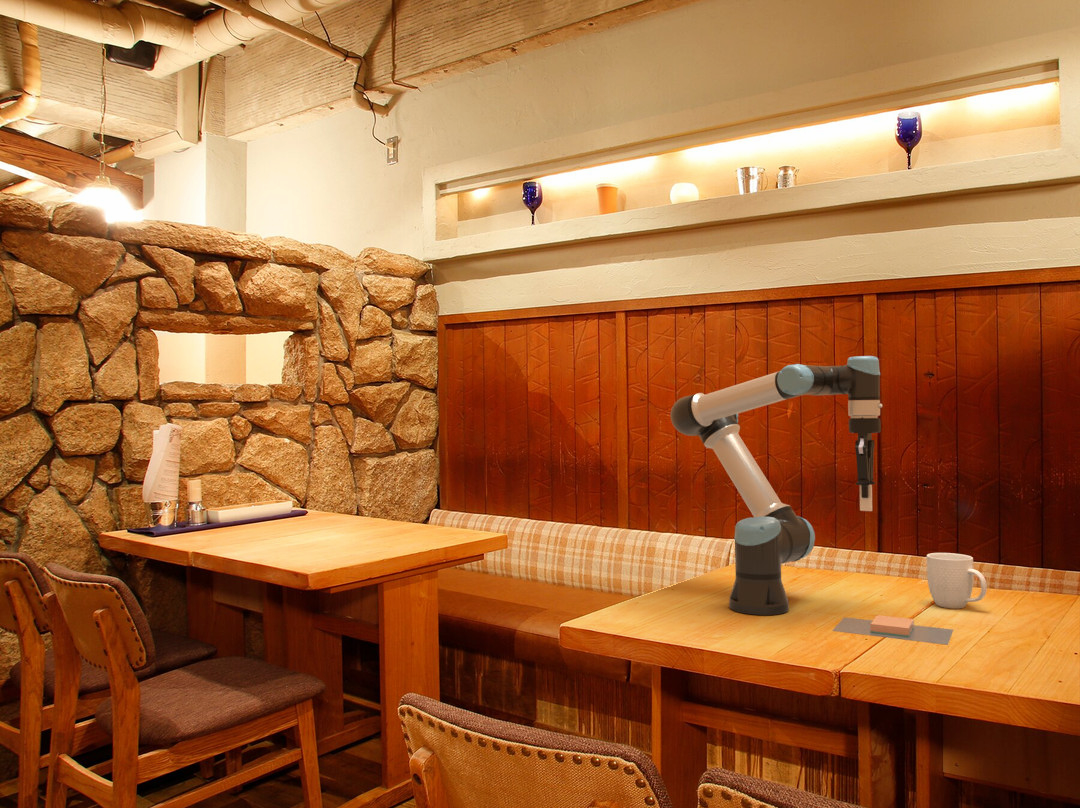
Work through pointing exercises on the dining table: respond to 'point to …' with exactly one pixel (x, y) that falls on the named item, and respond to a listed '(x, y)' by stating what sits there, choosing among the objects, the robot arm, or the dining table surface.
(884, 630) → the tile
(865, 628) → the slate board
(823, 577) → the dining table surface
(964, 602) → the mug
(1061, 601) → the dining table surface
